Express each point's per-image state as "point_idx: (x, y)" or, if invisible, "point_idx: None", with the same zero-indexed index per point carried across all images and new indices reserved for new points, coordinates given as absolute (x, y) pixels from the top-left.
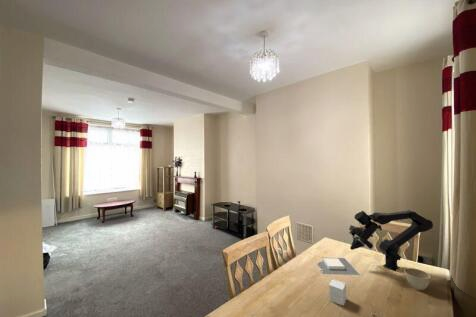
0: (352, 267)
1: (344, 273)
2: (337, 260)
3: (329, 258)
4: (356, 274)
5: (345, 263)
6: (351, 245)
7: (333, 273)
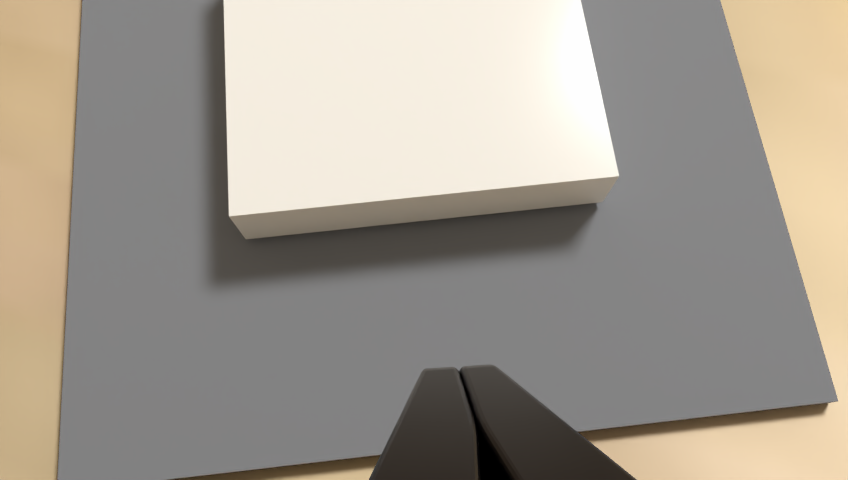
0: (373, 441)
1: (108, 198)
2: (506, 144)
3: (571, 8)
4: (71, 423)
5: (543, 342)
6: (543, 441)
7: (102, 17)
